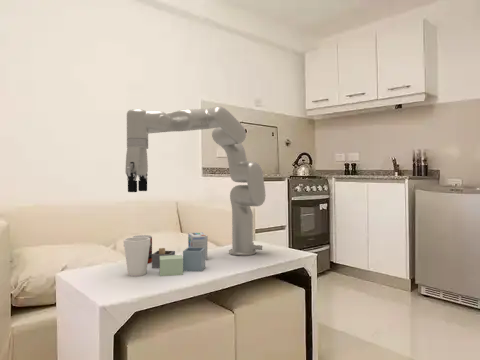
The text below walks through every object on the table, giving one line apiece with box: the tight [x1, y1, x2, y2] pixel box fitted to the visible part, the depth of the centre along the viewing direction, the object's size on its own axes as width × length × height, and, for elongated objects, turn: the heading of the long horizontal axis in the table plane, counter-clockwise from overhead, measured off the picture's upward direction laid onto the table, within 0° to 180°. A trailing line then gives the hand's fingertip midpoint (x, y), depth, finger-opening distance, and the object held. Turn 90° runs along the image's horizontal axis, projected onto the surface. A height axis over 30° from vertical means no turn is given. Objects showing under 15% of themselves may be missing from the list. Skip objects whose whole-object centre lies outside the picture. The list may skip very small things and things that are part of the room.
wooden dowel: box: [158, 247, 166, 254], centre depth 145 cm, size 2×2×7 cm
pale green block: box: [159, 254, 184, 277], centre depth 135 cm, size 8×6×6 cm
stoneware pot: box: [182, 246, 206, 272], centre depth 141 cm, size 7×7×8 cm
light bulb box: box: [187, 231, 209, 261], centre depth 160 cm, size 11×7×11 cm, turn 18°
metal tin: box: [151, 250, 176, 269], centre depth 146 cm, size 7×7×6 cm
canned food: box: [132, 234, 153, 264], centre depth 153 cm, size 8×8×11 cm
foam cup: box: [123, 236, 150, 277], centre depth 134 cm, size 10×9×13 cm
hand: (137, 191), depth 134 cm, fingers open, 9 cm apart
